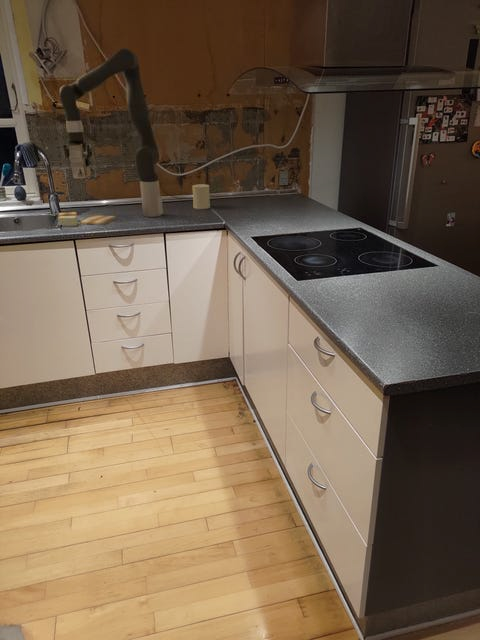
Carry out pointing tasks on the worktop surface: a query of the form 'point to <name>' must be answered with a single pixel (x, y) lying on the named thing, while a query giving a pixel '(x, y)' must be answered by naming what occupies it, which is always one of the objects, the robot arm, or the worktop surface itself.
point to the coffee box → (78, 161)
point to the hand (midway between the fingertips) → (80, 166)
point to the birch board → (98, 220)
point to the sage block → (67, 220)
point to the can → (201, 196)
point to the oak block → (67, 214)
